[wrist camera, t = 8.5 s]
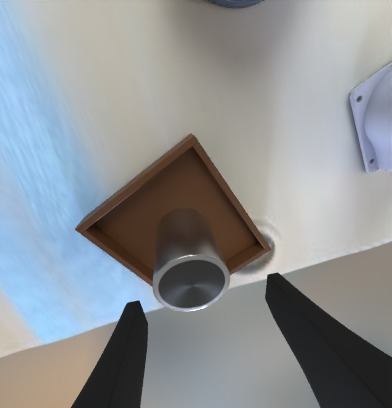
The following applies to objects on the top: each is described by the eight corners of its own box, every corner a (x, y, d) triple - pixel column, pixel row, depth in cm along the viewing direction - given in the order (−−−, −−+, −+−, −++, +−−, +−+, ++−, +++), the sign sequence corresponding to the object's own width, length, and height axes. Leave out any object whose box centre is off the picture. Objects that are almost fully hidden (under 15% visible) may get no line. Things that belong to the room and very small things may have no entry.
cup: (219, 234, 21) (243, 285, 14) (179, 261, 21) (184, 321, 15) (189, 197, 18) (202, 240, 12) (144, 230, 19) (134, 286, 13)
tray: (263, 239, 23) (271, 249, 21) (178, 293, 25) (179, 307, 23) (190, 133, 16) (194, 135, 14) (83, 218, 18) (74, 229, 16)
